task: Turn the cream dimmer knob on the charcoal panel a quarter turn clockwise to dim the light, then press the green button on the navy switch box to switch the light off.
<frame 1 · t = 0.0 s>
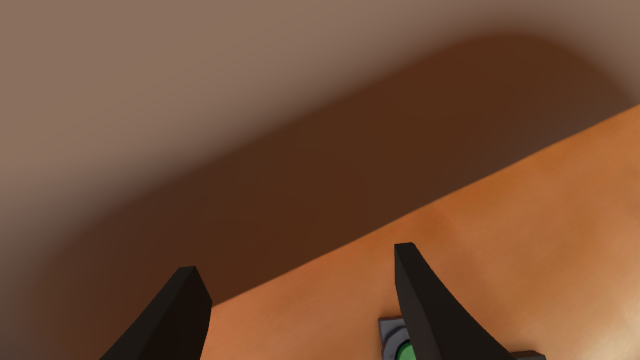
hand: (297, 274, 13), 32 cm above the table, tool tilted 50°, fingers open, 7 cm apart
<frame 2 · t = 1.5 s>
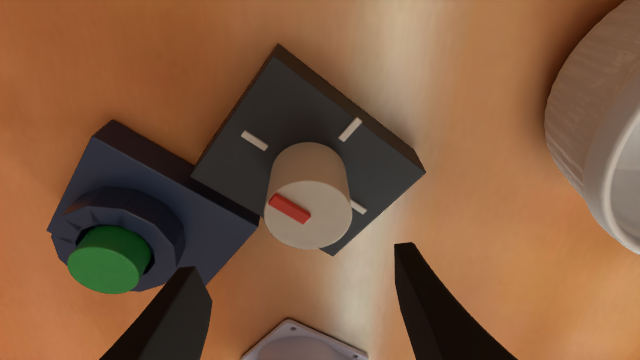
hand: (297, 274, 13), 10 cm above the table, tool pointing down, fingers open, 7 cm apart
dimmer panel: (308, 152, 21), on the table
dimmer knob: (308, 196, 17), point 4 cm above the table, hinge at 0.0°
switch box: (165, 207, 23), on the table
off button: (111, 260, 19), point 5 cm above the table, slide at 0.2 cm
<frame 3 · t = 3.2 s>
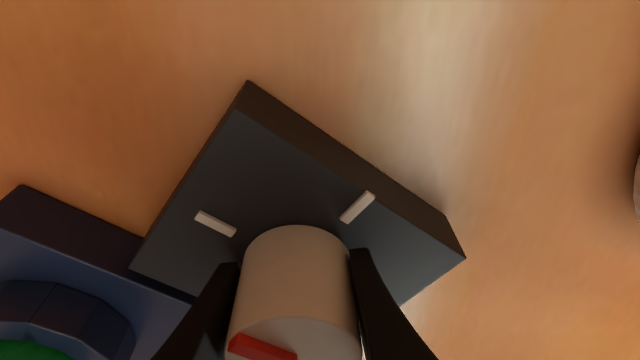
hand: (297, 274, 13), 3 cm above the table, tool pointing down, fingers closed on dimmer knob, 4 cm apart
dimmer panel: (299, 220, 15), on the table
dimmer knob: (295, 309, 11), point 5 cm above the table, hinge at 0.0°, touching gripper
switch box: (111, 286, 17), on the table
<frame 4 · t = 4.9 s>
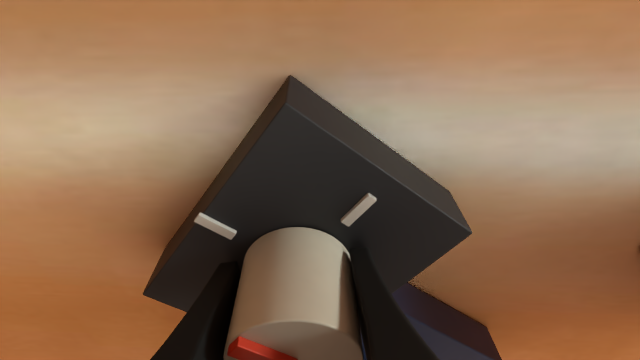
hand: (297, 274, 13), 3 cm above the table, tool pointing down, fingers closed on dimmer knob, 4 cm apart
dimmer panel: (300, 222, 15), on the table
dimmer knob: (296, 312, 11), point 5 cm above the table, hinge at -90.1°, touching gripper
switch box: (375, 344, 20), on the table
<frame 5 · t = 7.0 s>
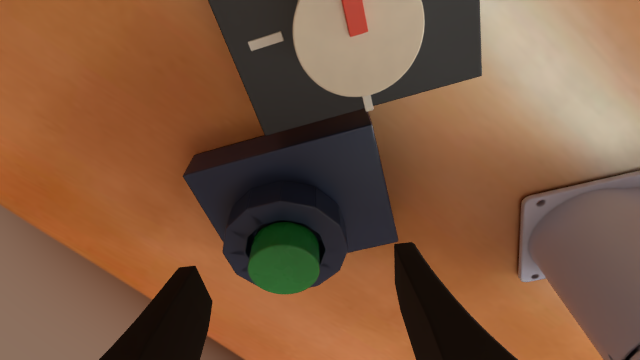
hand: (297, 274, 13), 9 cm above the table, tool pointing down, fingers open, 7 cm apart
dimmer panel: (343, 5, 16), on the table
dimmer knob: (353, 24, 12), point 5 cm above the table, hinge at -90.2°
switch box: (299, 188, 21), on the table
off button: (284, 258, 18), point 5 cm above the table, slide at 0.2 cm
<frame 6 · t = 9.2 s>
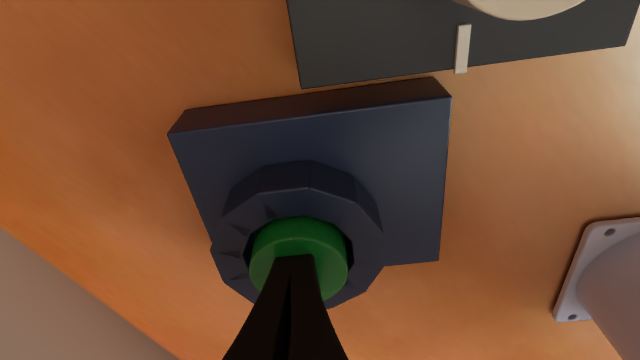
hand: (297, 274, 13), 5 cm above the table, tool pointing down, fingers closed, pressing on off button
switch box: (319, 176, 16), on the table
off button: (299, 257, 13), point 4 cm above the table, slide at -0.5 cm, touching gripper
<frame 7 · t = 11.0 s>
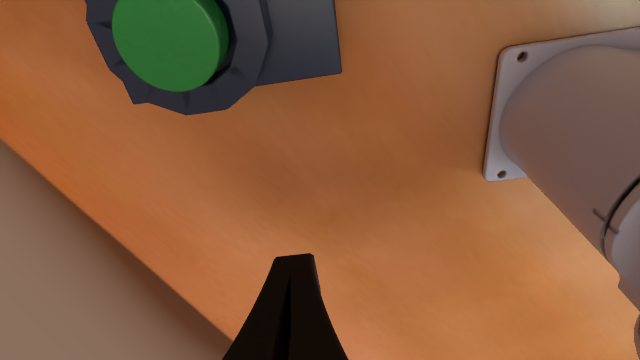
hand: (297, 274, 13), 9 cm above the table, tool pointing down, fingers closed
off button: (174, 36, 13), point 5 cm above the table, slide at 0.2 cm
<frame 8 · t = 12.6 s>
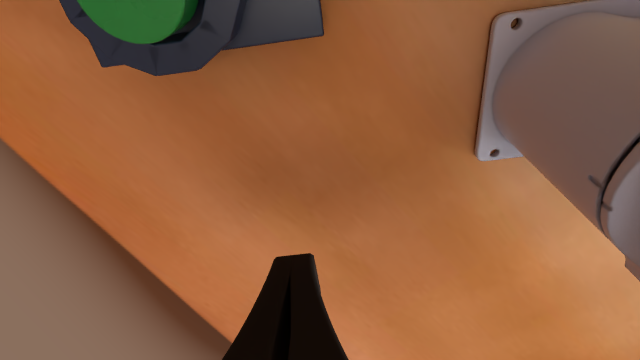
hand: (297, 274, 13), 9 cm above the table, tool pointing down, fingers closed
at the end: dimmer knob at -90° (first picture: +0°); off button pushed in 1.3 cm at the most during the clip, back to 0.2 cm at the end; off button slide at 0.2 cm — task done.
